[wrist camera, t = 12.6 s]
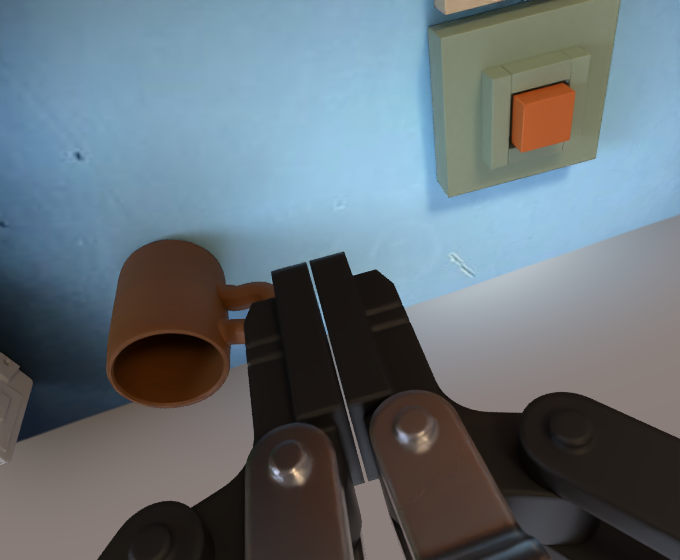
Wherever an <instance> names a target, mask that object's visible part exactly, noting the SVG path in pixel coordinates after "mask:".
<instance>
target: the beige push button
mask: <svg viewBox="0 0 680 560" xmlns="http://www.w3.org/2000/svg"><path fill="white" fill-rule="evenodd" d="M499 1H503V0H434V6H435V7H436V8H437V9H438V10H439V11H441V12H442V13H443V14H445V15H448V14H452V13H456V12H460V11H464V10H468V9H472V8H476V7H480V6H484V5H488V4H492V3H496V2H499Z"/></svg>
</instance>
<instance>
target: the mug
mask: <svg viewBox="0 0 680 560" xmlns="http://www.w3.org/2000/svg"><path fill="white" fill-rule="evenodd" d="M273 297H275V293H274V288H273V284H270V283H267V282H251V283H246V284H242V285H238V286H236V285H226V281H225V276H224V272H223V270H222V267H221V265H220V263H219V262H218V260H217V259H216V258H215V257H214V256H213V255H212V254H211V253H210V252H208V251H207V250H205V249H204V248H202V247H200V246H198V245H196V244H193V243H191V242H187V241H182V240H161V241H156V242H153V243H150V244H147V245H145V246H143V247H141V248H139V249H138V250H136V251H135V252H134V253H132V254H131V255H130V256H129V257H128V259H127V260H126V262H125V263H124V265H123V267H122V269H121V272H120V275H119V279H118V285H117V291H116V296H115V301H114V307H113V313H112V319H111V325H110V331H109V337H108V346H107V365H106V370H107V376H108V379H109V381H110V383H111V384H112V386H113V387H114V389H115V390H116V391H117V392H118V393H119V394H121V395H122V396H123V397H125V398H127V399H128V400H130V401H132V402H135V403H137V404H141V405H144V406H149V407H155V408H177V407H183V406H188V405H191V404H195V403H197V402H200V401H202V400H204V399H206V398H208V397H210V396H211V395H212V394H214V393H215V392H216V391H218V390H219V388H220V387H221V386H222V385H223V384H224V382H225V380H226V378H227V376H228V374H229V370H230V349H231V346H230V345H233V344H245V336H244V326H243V324H244V321H245V319H230V320H229V317H228V310H229V311H240V310H245V309H248V308H250V306H251V304H252V303H254V302H258V301H262V300H265V299H269V298H273Z"/></svg>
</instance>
